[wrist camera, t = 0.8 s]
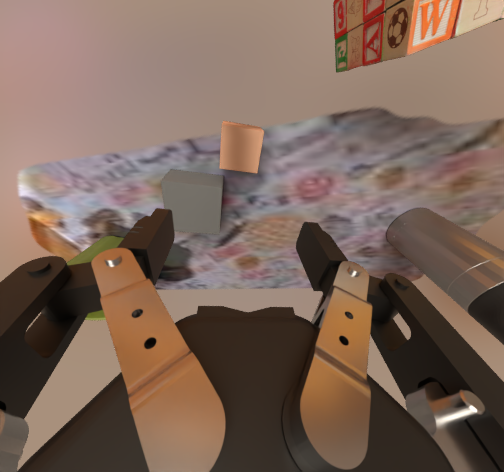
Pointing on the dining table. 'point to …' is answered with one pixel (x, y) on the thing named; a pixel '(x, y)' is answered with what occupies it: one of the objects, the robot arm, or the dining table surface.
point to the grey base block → (193, 200)
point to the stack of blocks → (403, 26)
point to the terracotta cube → (240, 147)
